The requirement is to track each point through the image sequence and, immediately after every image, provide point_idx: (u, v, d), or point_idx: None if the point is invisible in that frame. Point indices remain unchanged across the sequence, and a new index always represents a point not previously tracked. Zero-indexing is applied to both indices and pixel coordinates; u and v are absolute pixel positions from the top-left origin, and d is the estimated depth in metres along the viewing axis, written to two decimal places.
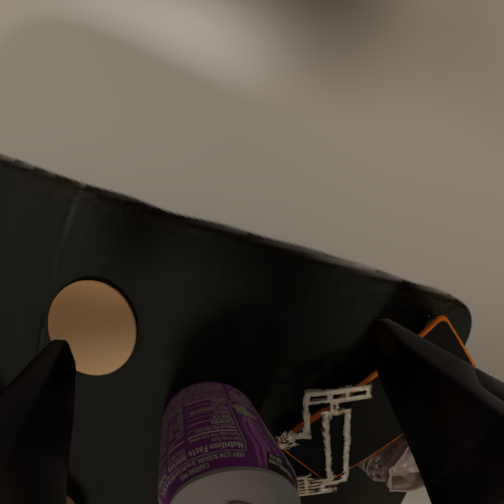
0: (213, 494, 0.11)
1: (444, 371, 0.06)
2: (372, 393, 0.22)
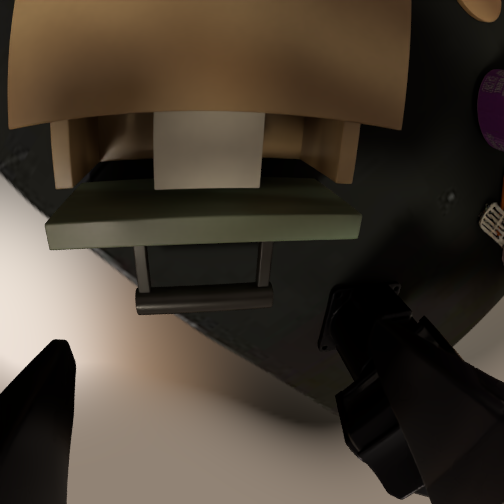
0: None
1: (444, 371, 0.06)
2: None
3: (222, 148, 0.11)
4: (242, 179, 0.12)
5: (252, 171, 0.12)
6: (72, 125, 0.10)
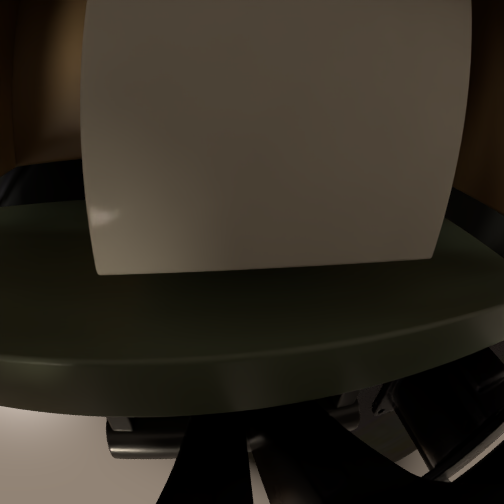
0: None
1: (274, 414, 0.05)
2: None
3: (360, 122, 0.03)
4: (400, 236, 0.03)
5: (426, 212, 0.03)
6: None
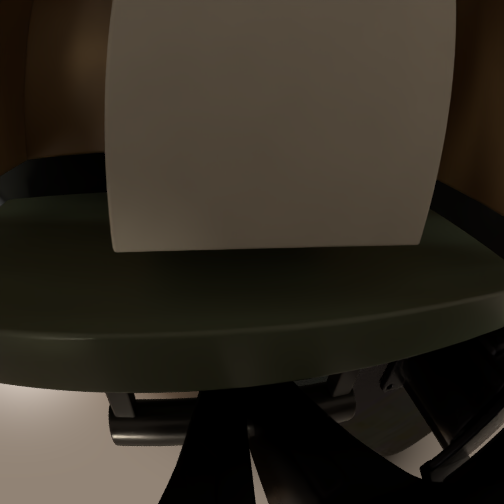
0: None
1: (272, 414, 0.05)
2: None
3: (349, 120, 0.03)
4: (388, 222, 0.04)
5: (413, 201, 0.04)
6: None
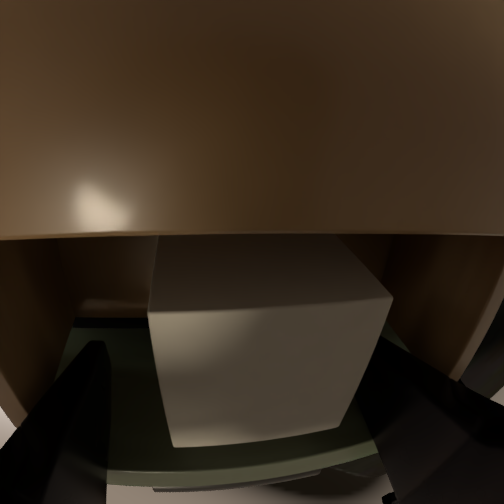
0: None
1: (414, 382, 0.06)
2: None
3: (291, 401, 0.06)
4: (316, 425, 0.07)
5: (332, 416, 0.07)
6: (5, 348, 0.05)
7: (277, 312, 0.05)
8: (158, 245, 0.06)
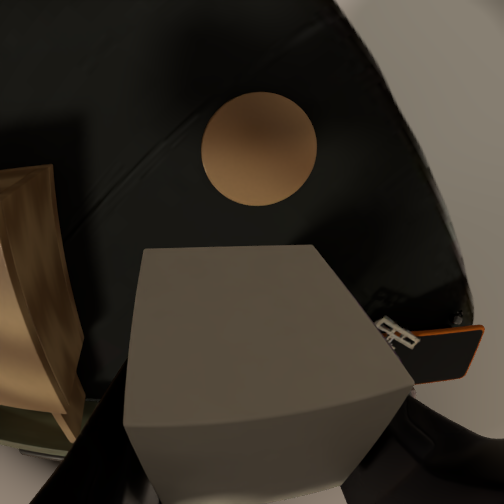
0: None
1: None
2: None
3: (292, 477, 0.05)
4: (317, 488, 0.06)
5: (335, 480, 0.05)
6: None
7: (279, 419, 0.04)
8: (135, 313, 0.05)
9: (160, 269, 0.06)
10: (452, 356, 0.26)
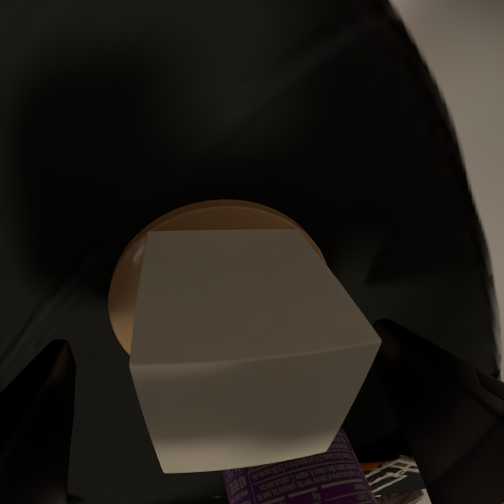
0: None
1: (444, 371, 0.06)
2: None
3: (277, 434, 0.06)
4: (303, 452, 0.07)
5: (319, 443, 0.06)
6: None
7: (260, 362, 0.05)
8: (140, 281, 0.06)
9: (162, 247, 0.07)
10: None
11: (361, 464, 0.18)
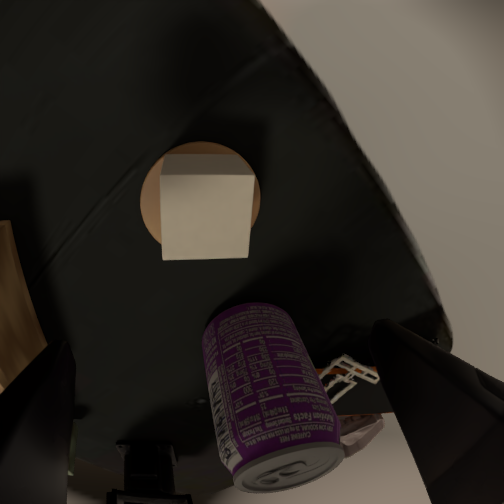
0: (294, 456, 0.14)
1: (444, 371, 0.06)
2: None
3: (217, 228, 0.14)
4: (233, 251, 0.15)
5: (241, 245, 0.15)
6: None
7: (205, 176, 0.13)
8: (163, 163, 0.15)
9: (172, 157, 0.16)
10: None
11: (316, 369, 0.27)
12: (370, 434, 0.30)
